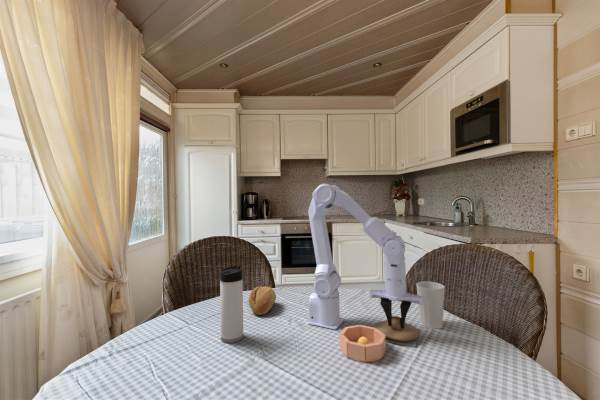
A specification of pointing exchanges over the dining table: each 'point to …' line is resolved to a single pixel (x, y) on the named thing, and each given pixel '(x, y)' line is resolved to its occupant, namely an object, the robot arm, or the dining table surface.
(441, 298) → the cup
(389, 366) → the dining table surface
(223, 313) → the travel mug
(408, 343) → the mat
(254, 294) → the bread roll
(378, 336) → the bowl
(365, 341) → the clementine
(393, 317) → the lid
